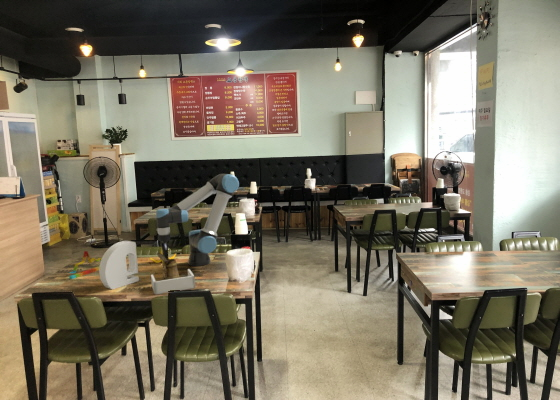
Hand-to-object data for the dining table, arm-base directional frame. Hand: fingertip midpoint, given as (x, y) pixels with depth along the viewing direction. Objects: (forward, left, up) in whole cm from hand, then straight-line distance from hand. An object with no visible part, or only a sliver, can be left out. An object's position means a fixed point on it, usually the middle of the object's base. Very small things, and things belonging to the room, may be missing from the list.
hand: (166, 270), depth 267 cm
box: (0, +25, -3) cm, 25 cm away
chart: (+45, -33, -4) cm, 56 cm away
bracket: (+28, +5, -3) cm, 28 cm away
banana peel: (-1, -34, -4) cm, 34 cm away
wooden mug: (0, +8, -3) cm, 9 cm away
